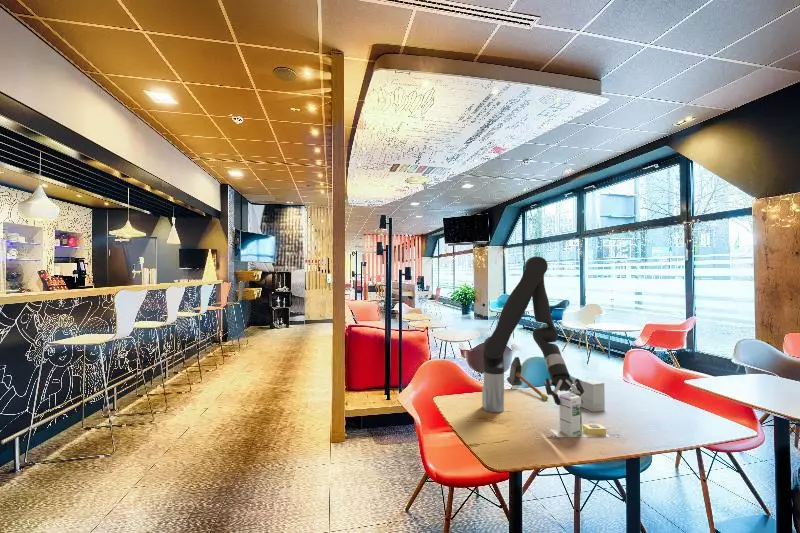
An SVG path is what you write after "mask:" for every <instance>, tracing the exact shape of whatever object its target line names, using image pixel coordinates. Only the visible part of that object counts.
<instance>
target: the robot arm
mask: <svg viewBox="0 0 800 533" xmlns="http://www.w3.org/2000/svg"><path fill="white" fill-rule="evenodd" d="M547 271H548V262H547V260H546V258H544V257H542V256H538V255H536V256H532V257H530V258H528V259H527V260H526V262H525V264H524V271H523V274H522V276H521V278H520V280H519V282H518V284H517V285H515V288H514V289H513V290H512V292H511V293H509V295H508V298H507V299H506V301H505V303H504V305H503V307H502V309H501V312H500V315H499V318H498V321H497V325H496V327H495V329H494V331H493V332H492V334H491V335H490V336H489V337H487V338H486V339H485V340H484V342H483V346H482V348H483V354H482V355H483V358H482V359H483V360H482V361H483V386H482V389H481V392H482V393H481V395H482V396H481V397H482V398H481V399H482V400H481V401H482V402H481V405H482V408H483V409H484V411H485V412H491V413H502V412H504V411H505V364H504V363H505V361H504V353H505V351H506V348H507V346H508V343H509V341H510V338H511V336H512V334H513V333H514V331H515V329H516V328H517V326H518V324H519V322H520V321H521V319H522V317H523V316H524V314H525V312H526V310H527V308H528V305H529V303H530V301H531V300H532V307H533V308H532V309H533V315H534V320H535V322H537V323H539V324H540V323H542V324H545V325H546V326H545V327H537V328H534V329H533V331H532V338H533V341H534V342H535V344H536V345H537V346H538V348H539V349H540V350H541V353H542V354H543V358H544V361H545V365H546V366H545V367H546V369H547V371H548V372H547V373H548V375H549V378H545V380H544V381H543V383H544V386H545V391H546V395H547V396H551V397H552V398H553V401H554V404H556V406H559V405H560V399H559V394H558V392H568V393H572V394H576V395H578V396H581V395H582V394H583V393H584V390H583V387H582V385H581V380H580V379H579V378H576V379H572V378H571V377H570V373H569V370H568V368H567V365H566V362H565V360H564V357H563V356H562V354H561V351H560V348H559V346H558V345H557V344H555V342H557V341H558V339H559V333H558V331H557V329H556V327H555V326H556V325H555V324H554V321H553V319H552V314H551V308H550V301H549V297H548V294H547V290H546V286H545V274H546V273H547ZM551 386H553V387H554V388H553V389H552V387H551ZM582 403H583V400H582V398H581V405H582Z"/></svg>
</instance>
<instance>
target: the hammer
mask: <svg viewBox="0 0 800 533" xmlns="http://www.w3.org/2000/svg"><path fill="white" fill-rule="evenodd" d="M520 360H521V359H520V356H515V357H514V359H513V360H512V362H511V363H510V368H509V369H510V371H509V376H507V377H506V381H507V383H509V384H510V385H511V386H514V387H515V386H522V384H523V383H524V384H526V385H527V386H528V387H529V388H531V390H533V391H534V392H535V394H537V395H539V397H540V398H541V399H542V401H548V400H549V396H548V395H547V394H544V393H543V392H541V391H540V390H539V389H538V388H537V387H535V386H534V385H533V384H532V382H530V381H529V380H528V379H526V378H525V377H524V376H523V375H522V374H521V372H522V368H523V367H522V364H521V361H520ZM522 381H523V382H522Z"/></svg>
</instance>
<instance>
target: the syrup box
mask: <svg viewBox="0 0 800 533" xmlns="http://www.w3.org/2000/svg"><path fill="white" fill-rule="evenodd" d="M558 396H559V399H560V405H558V408H559V410H558V412H559V429H560V431H561V432H563V433H565V434H567V435H569V436H571V437H570V438H574V437H573V436H575V435H579V434H582V429H583V424H582V422H583V420H582V419H583V418H582V414H583V413H582V407H581V396H578V395H576V394H573V393H570V392H567V393H563V394H558Z"/></svg>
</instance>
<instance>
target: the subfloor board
mask: <svg viewBox="0 0 800 533" xmlns="http://www.w3.org/2000/svg"><path fill="white" fill-rule="evenodd" d="M549 430H550V431H551V432H552V433H553V434H554V435H555V436H556V437H557V438H607V437H608V438H610V436H609V435H608V434H607V433H606V435H588V434H586V433H585V432H584V431H583V428H582V434H579V435H575V436H573V437H571V436H569V435H567V434H565V433H563V432H561V431H560V428H559V429H558V428H550V429H549Z"/></svg>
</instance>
